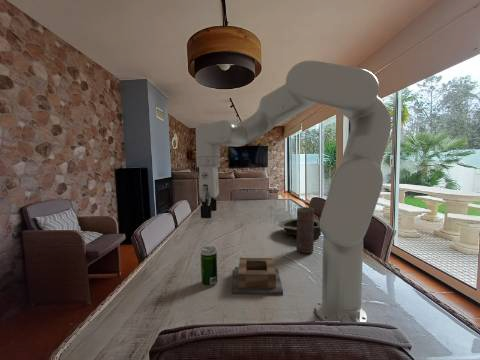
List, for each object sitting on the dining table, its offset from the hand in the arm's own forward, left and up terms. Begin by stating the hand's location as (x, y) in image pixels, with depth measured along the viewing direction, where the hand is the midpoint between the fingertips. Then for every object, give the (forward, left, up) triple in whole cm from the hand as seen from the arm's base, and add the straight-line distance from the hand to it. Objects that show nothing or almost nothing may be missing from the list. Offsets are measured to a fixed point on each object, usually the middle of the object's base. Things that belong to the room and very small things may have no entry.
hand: (209, 214), depth 77 cm
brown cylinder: (+27, -38, -24) cm, 52 cm away
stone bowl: (+50, -41, -24) cm, 69 cm away
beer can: (0, 0, -24) cm, 24 cm away
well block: (+2, -16, -24) cm, 28 cm away
